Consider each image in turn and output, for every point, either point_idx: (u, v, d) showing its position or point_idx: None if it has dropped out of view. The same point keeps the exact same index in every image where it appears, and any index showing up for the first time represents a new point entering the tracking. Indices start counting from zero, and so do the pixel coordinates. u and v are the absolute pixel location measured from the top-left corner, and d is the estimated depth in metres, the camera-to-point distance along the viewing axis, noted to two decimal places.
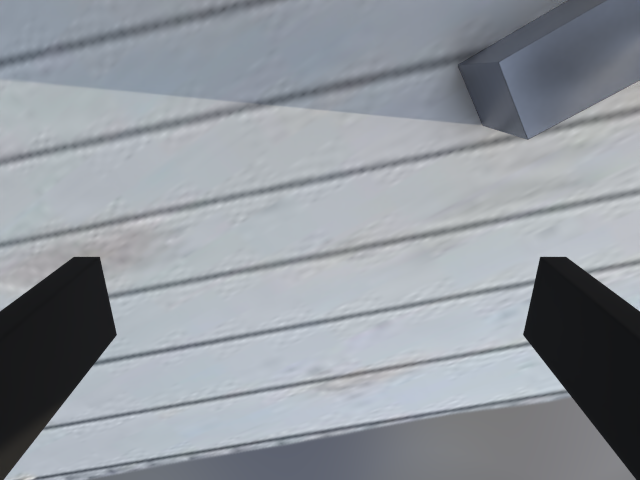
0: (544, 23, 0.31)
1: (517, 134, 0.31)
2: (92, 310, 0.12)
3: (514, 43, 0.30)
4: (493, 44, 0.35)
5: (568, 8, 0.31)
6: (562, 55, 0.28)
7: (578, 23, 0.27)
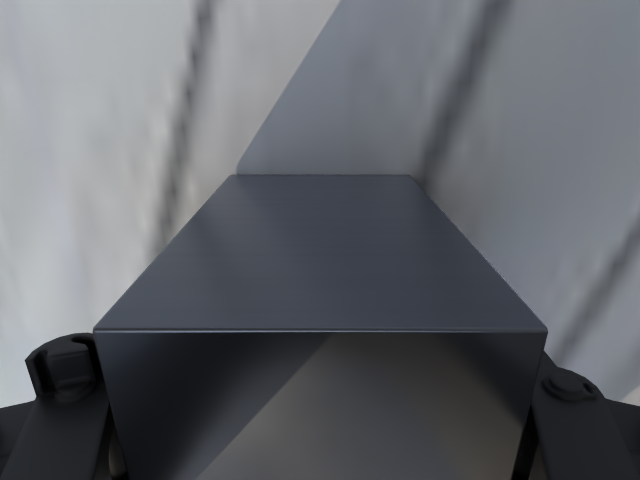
0: None
1: (151, 278, 0.07)
2: None
3: None
4: None
5: None
6: None
7: None
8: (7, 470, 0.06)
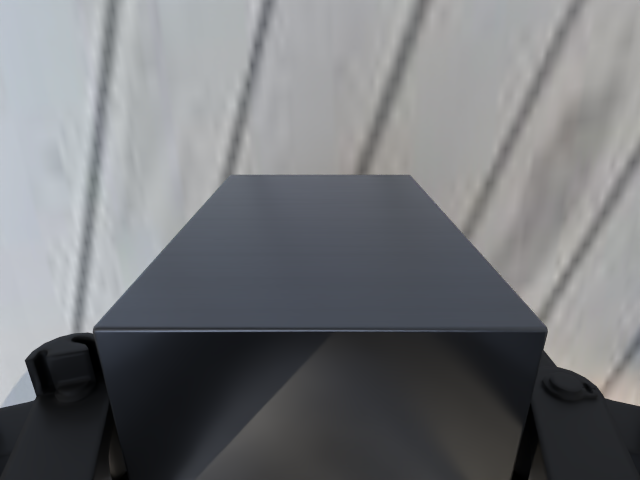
0: None
1: (151, 278, 0.07)
2: None
3: None
4: None
5: None
6: None
7: None
8: (7, 470, 0.06)
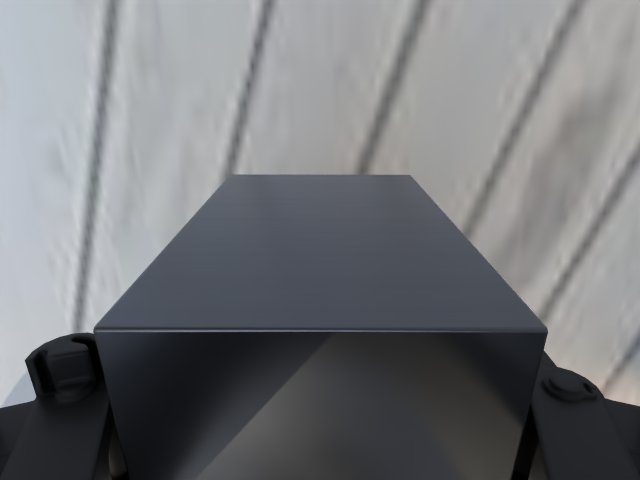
0: None
1: (151, 277, 0.07)
2: None
3: None
4: None
5: None
6: None
7: None
8: (7, 470, 0.06)
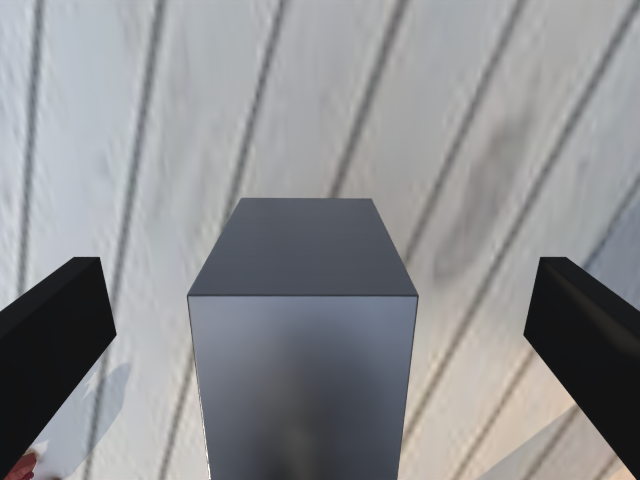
0: None
1: (209, 270, 0.12)
2: (92, 310, 0.12)
3: None
4: None
5: None
6: (345, 411, 0.12)
7: (387, 450, 0.13)
8: None
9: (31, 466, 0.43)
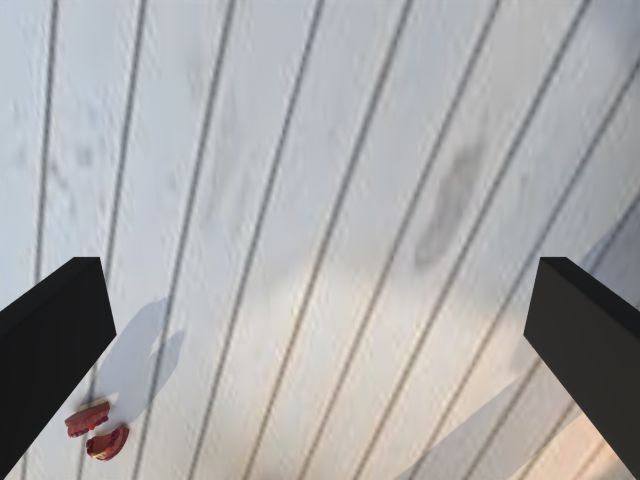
0: None
1: None
2: (92, 310, 0.12)
3: None
4: None
5: None
6: None
7: None
8: None
9: (106, 411, 0.55)
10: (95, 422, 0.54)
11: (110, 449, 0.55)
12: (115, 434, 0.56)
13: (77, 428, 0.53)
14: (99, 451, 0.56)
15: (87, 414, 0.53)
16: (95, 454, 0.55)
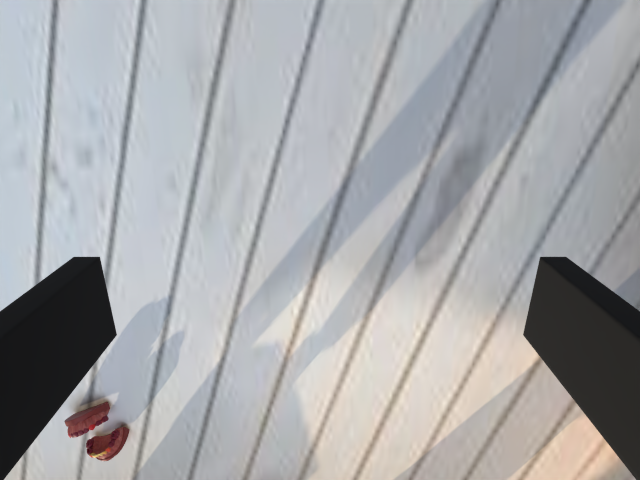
0: None
1: None
2: (92, 310, 0.12)
3: None
4: None
5: None
6: None
7: None
8: None
9: (106, 411, 0.55)
10: (95, 422, 0.54)
11: (110, 449, 0.55)
12: (115, 434, 0.56)
13: (77, 428, 0.53)
14: (99, 451, 0.56)
15: (87, 414, 0.53)
16: (95, 454, 0.55)
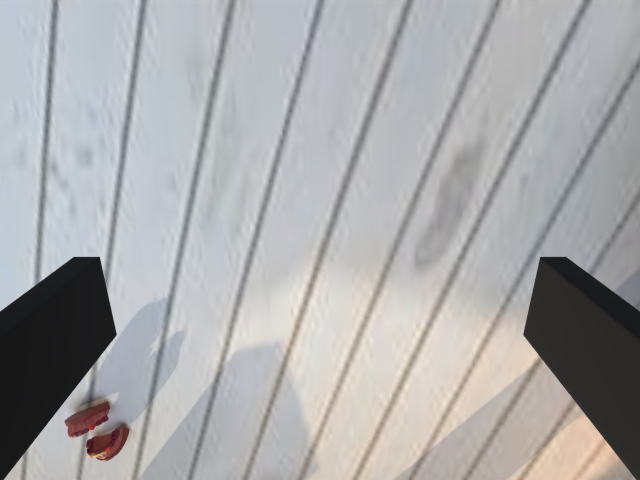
0: None
1: None
2: (92, 310, 0.12)
3: None
4: None
5: None
6: None
7: None
8: None
9: (106, 411, 0.55)
10: (95, 422, 0.54)
11: (110, 449, 0.55)
12: (115, 434, 0.56)
13: (77, 428, 0.53)
14: (99, 451, 0.56)
15: (87, 414, 0.53)
16: (95, 454, 0.55)
